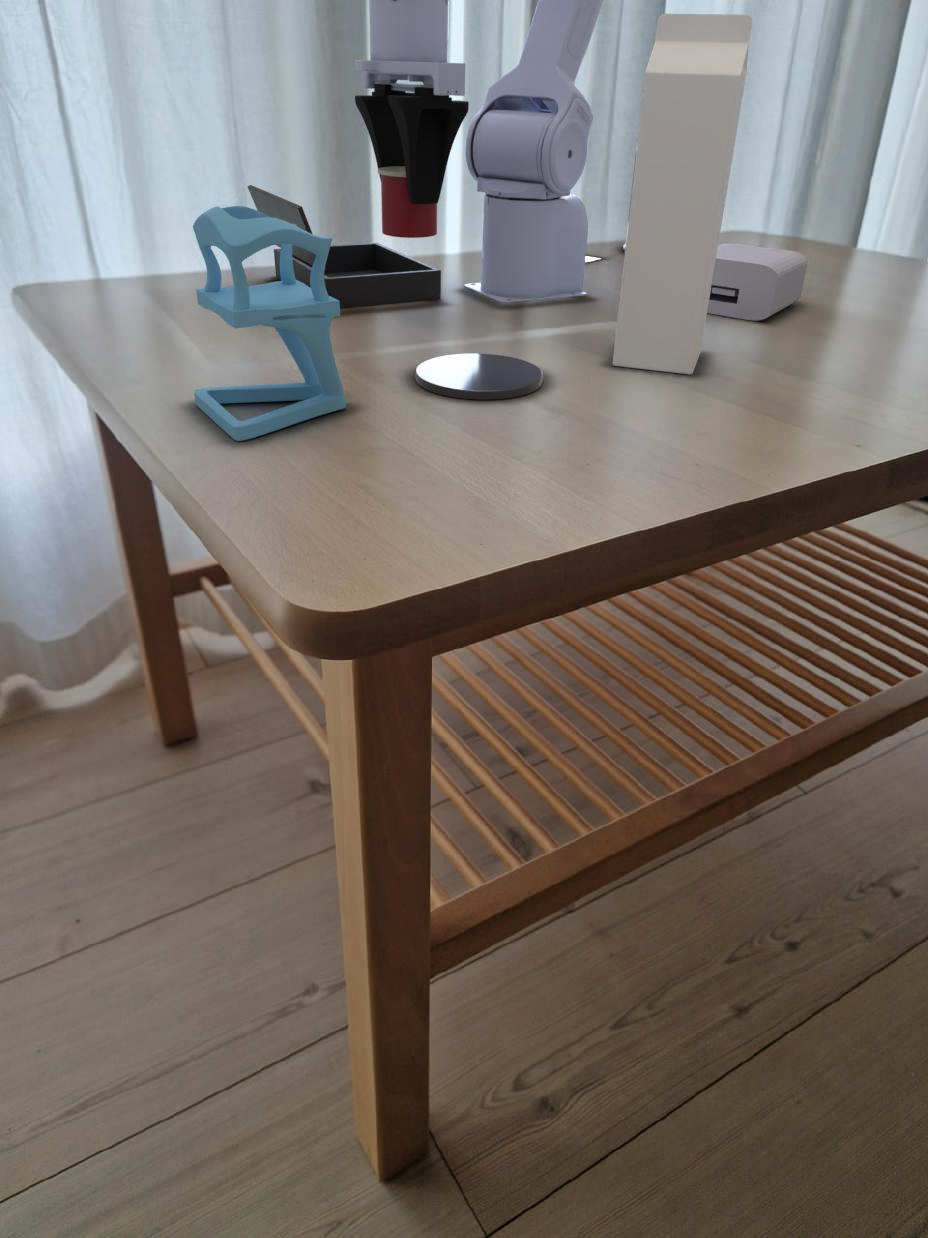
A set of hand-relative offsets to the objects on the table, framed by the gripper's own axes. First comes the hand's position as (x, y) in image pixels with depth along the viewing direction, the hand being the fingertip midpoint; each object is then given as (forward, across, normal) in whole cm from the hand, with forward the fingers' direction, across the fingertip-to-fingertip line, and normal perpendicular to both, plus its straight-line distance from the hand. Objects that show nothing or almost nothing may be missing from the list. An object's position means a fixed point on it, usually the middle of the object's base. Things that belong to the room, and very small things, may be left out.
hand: (410, 198), depth 70 cm
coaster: (+10, +16, -2) cm, 18 cm away
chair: (+10, +17, -17) cm, 26 cm away
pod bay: (+10, -13, 0) cm, 17 cm away
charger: (+10, +3, +34) cm, 36 cm away
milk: (+10, +16, +13) cm, 23 cm away
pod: (+2, 0, 0) cm, 3 cm away
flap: (+4, -13, -6) cm, 15 cm away
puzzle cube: (+10, -22, +28) cm, 37 cm away
